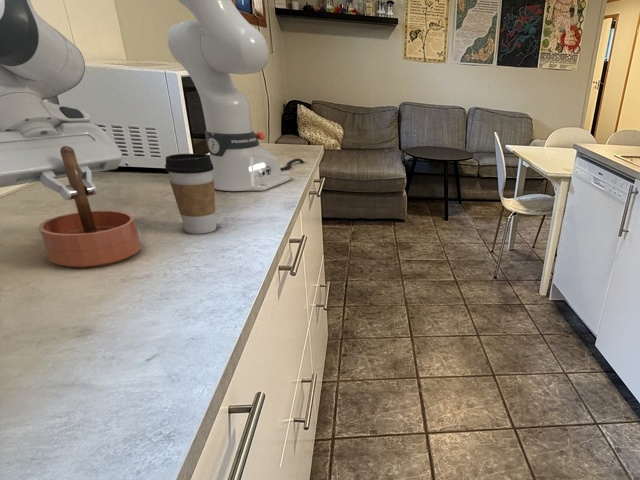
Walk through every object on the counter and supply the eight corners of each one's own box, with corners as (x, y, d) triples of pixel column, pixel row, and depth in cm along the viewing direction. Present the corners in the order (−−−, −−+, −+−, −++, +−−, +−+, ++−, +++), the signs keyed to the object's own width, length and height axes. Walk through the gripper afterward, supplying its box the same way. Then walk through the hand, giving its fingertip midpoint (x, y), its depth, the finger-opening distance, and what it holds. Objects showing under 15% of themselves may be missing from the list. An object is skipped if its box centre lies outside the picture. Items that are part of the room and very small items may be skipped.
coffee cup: (205, 238, 93) (192, 161, 87) (168, 232, 95) (151, 156, 88) (231, 225, 101) (221, 153, 94) (196, 220, 102) (183, 149, 95)
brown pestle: (100, 240, 85) (72, 142, 78) (119, 246, 84) (93, 146, 76) (69, 248, 81) (37, 145, 73) (89, 255, 79) (57, 150, 72)
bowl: (110, 236, 91) (102, 206, 88) (158, 250, 86) (151, 219, 84) (32, 258, 80) (20, 224, 77) (82, 276, 75) (71, 240, 73)
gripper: (-54, 117, 66) (12, 197, 68) (95, 109, 83) (145, 173, 85) (-58, 146, 70) (4, 221, 71) (86, 132, 87) (134, 194, 88)
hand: (82, 195), depth 78 cm, fingers closed on brown pestle
